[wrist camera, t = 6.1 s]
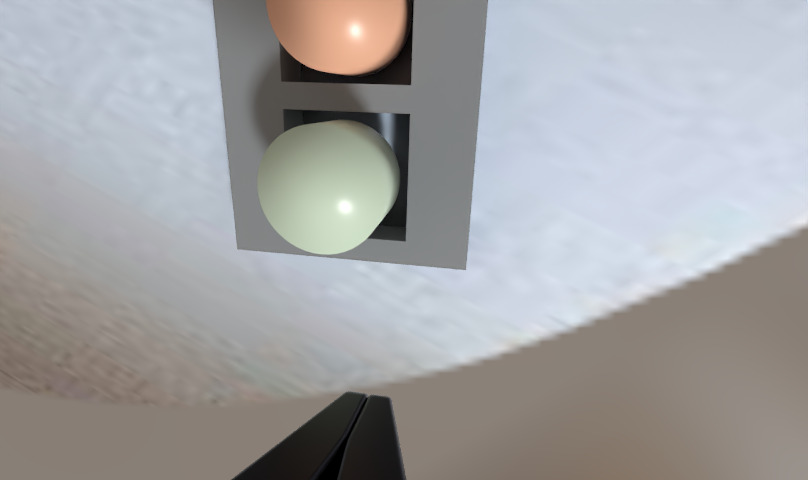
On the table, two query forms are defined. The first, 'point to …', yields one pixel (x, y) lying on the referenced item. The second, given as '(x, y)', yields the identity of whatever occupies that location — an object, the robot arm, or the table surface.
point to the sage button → (328, 184)
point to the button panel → (424, 100)
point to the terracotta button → (342, 32)
